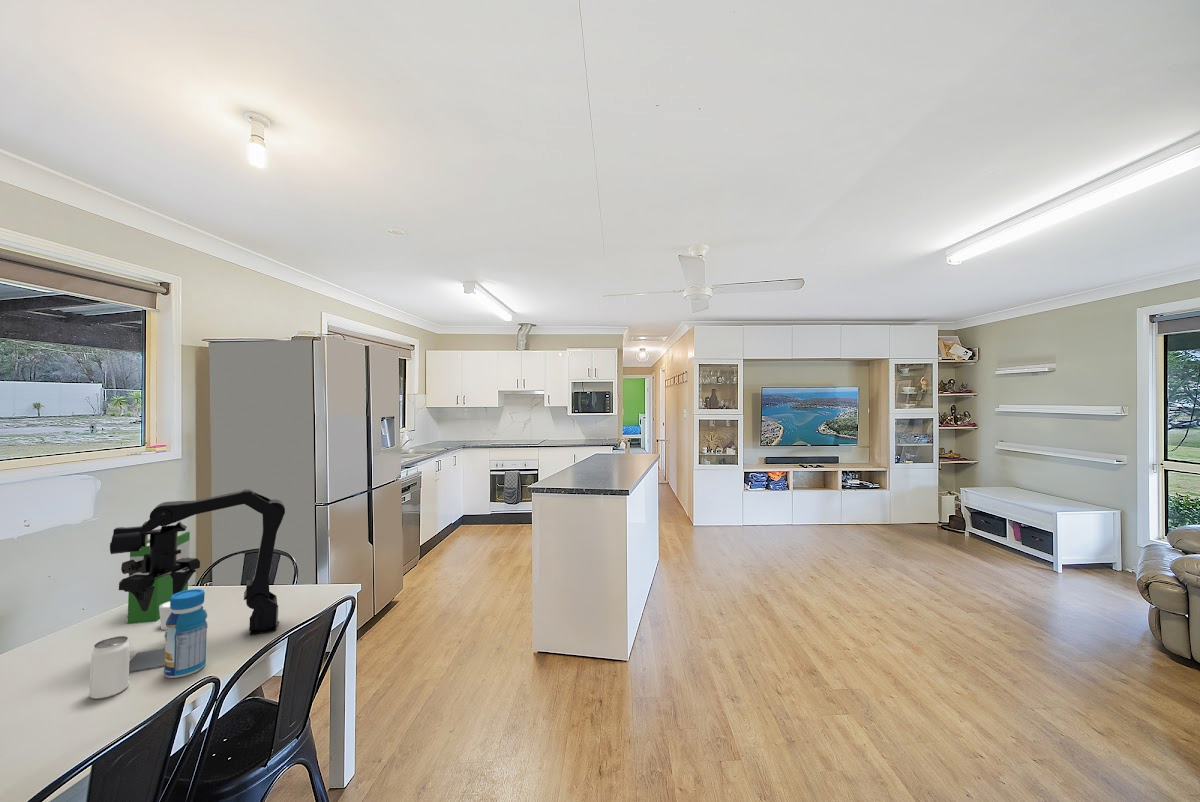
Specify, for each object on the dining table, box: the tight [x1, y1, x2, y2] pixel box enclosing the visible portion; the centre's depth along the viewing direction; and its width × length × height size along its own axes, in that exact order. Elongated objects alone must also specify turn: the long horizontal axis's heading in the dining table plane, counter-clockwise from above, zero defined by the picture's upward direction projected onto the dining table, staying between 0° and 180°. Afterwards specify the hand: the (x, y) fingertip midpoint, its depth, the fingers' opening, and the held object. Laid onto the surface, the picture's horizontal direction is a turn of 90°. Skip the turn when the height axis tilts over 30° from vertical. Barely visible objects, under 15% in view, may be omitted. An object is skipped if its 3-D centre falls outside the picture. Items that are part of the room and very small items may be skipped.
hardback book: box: [126, 531, 191, 625], centre depth 156 cm, size 18×7×24 cm, turn 17°
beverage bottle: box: [163, 588, 209, 679], centre depth 122 cm, size 8×8×20 cm
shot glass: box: [159, 601, 173, 631], centre depth 146 cm, size 7×7×7 cm
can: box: [89, 635, 131, 700], centre depth 112 cm, size 6×6×12 cm
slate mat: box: [129, 647, 165, 674], centre depth 127 cm, size 11×11×1 cm
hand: (160, 604), depth 131 cm, fingers open, 9 cm apart
